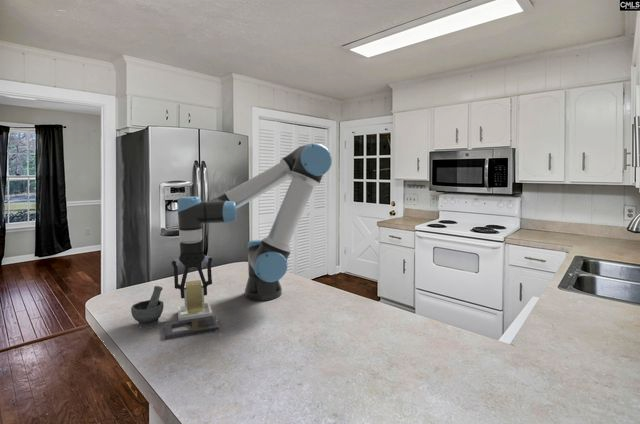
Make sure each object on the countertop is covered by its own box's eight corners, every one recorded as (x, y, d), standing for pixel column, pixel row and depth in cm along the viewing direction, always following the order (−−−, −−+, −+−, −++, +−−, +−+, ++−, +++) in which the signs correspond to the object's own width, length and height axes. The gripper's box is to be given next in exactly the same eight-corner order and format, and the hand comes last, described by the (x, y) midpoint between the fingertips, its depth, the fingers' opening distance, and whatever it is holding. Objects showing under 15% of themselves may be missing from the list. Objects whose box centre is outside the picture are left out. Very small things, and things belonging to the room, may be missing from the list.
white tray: (209, 307, 136) (209, 302, 136) (212, 318, 126) (212, 312, 125) (178, 312, 132) (178, 306, 132) (178, 323, 122) (178, 317, 121)
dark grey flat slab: (215, 318, 126) (215, 315, 126) (218, 330, 116) (218, 326, 116) (165, 326, 120) (165, 322, 120) (164, 339, 111) (164, 335, 110)
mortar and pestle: (147, 332, 115) (145, 296, 114) (126, 328, 119) (123, 293, 117) (173, 319, 126) (171, 285, 124) (152, 315, 129) (150, 283, 128)
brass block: (201, 306, 132) (200, 280, 131) (202, 311, 127) (201, 284, 126) (187, 308, 130) (185, 281, 129) (187, 313, 125) (186, 285, 124)
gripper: (216, 237, 132) (219, 298, 135) (163, 241, 126) (167, 305, 129) (219, 240, 125) (222, 305, 128) (162, 245, 119) (166, 313, 122)
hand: (194, 305), depth 128 cm, fingers closed on brass block, 5 cm apart
